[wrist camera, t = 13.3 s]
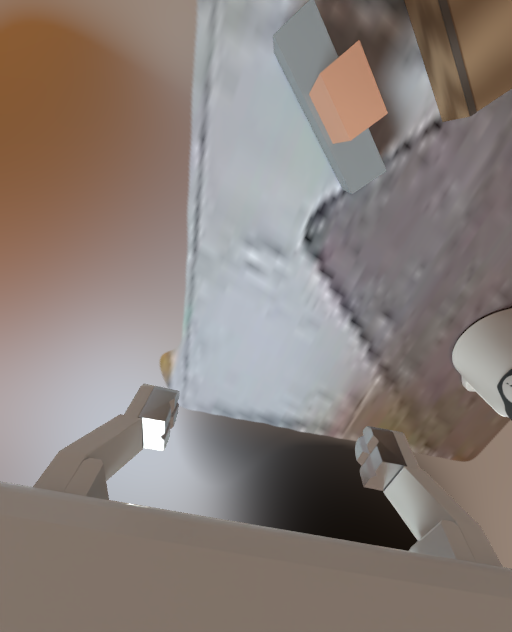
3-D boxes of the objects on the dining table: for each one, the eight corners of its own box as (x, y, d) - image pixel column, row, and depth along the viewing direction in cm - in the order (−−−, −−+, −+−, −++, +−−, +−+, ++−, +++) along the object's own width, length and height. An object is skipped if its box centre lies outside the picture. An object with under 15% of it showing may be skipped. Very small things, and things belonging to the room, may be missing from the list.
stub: (373, 169, 34) (420, 176, 23) (343, 189, 35) (373, 205, 24) (307, 20, 28) (327, -69, 17) (273, 52, 29) (271, -11, 18)
